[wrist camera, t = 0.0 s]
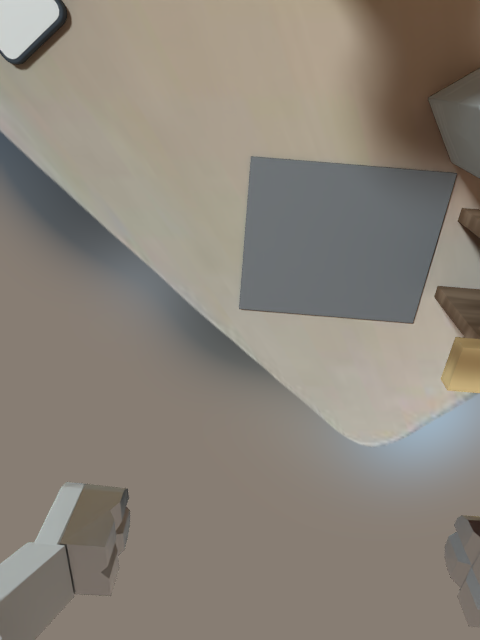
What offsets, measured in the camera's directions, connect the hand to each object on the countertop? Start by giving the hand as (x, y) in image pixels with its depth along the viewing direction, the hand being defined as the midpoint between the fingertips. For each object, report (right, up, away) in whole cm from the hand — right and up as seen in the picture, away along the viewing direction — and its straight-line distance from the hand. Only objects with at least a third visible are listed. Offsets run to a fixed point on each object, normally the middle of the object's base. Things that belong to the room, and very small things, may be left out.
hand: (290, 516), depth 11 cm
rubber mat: (+11, +14, +46) cm, 50 cm away
